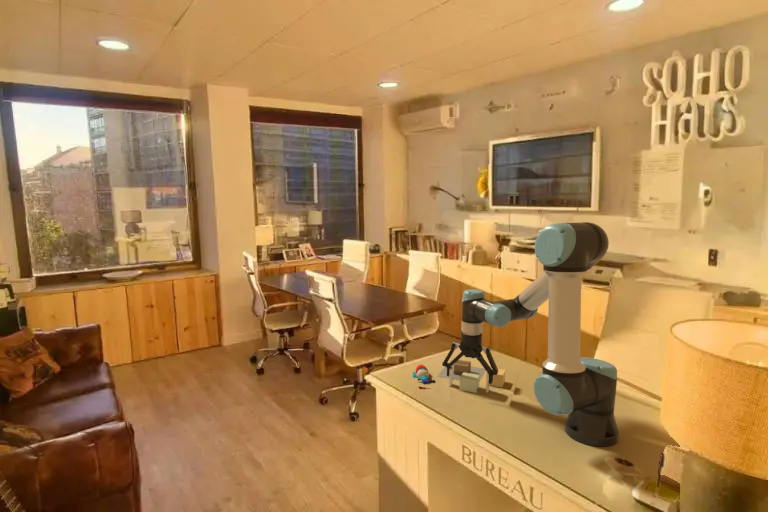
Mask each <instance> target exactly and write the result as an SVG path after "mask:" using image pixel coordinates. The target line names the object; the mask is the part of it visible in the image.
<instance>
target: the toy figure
mask: <svg viewBox="0 0 768 512" xmlns="http://www.w3.org/2000/svg"><path fill="white" fill-rule="evenodd" d="M412 378H417V382H418V383H419V384H423V385H424V386H425V385H426V384H436V380H435V379H432V378H431V377H430V373H429V369H428V368H427V367H426V366H425V365H423V364H418V365H417V366H416V368H415V371H413V372H412ZM420 380H421V381H420ZM424 386H418V389H420V390H425V389H427V390H431V388H429V387H424Z"/></svg>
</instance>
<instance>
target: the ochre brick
mask: <svg viewBox="0 0 768 512" xmlns="http://www.w3.org/2000/svg"><path fill="white" fill-rule="evenodd" d="M490 368H491V367H490ZM491 369H492V368H491ZM487 374H488V373H487V372H486V376H485V377H486V378H487ZM486 378H485V379H486ZM505 381H506V369H501V368H498V374H497V375H493V382H492V384H489V387H490V386H491V387H497V388H504V385H505V383H506V382H505Z"/></svg>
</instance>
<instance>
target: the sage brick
mask: <svg viewBox="0 0 768 512" xmlns="http://www.w3.org/2000/svg"><path fill="white" fill-rule="evenodd" d="M479 388H480V381H479V375H476V374H470V373H464V372H463V374H462V375H461V377H460V380H459V391H464V392H468V393H474V394H476V393H477V392H478V389H479Z"/></svg>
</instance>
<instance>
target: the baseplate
mask: <svg viewBox="0 0 768 512" xmlns="http://www.w3.org/2000/svg"><path fill="white" fill-rule="evenodd" d="M451 367H453V380H456V381H460V377H461V375H456V374H454V364H453V365H452V366H451ZM485 372H486V370H485V369H484V367H476V366H471V371H470V374H476V375H479V382H480V381H481V379H482V377H483V376H484V374H485ZM437 377H438V378H444V379H449V376H447V367H445V366H443V369H442V370H441V371H440V372H439V374H438V375H437Z"/></svg>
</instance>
